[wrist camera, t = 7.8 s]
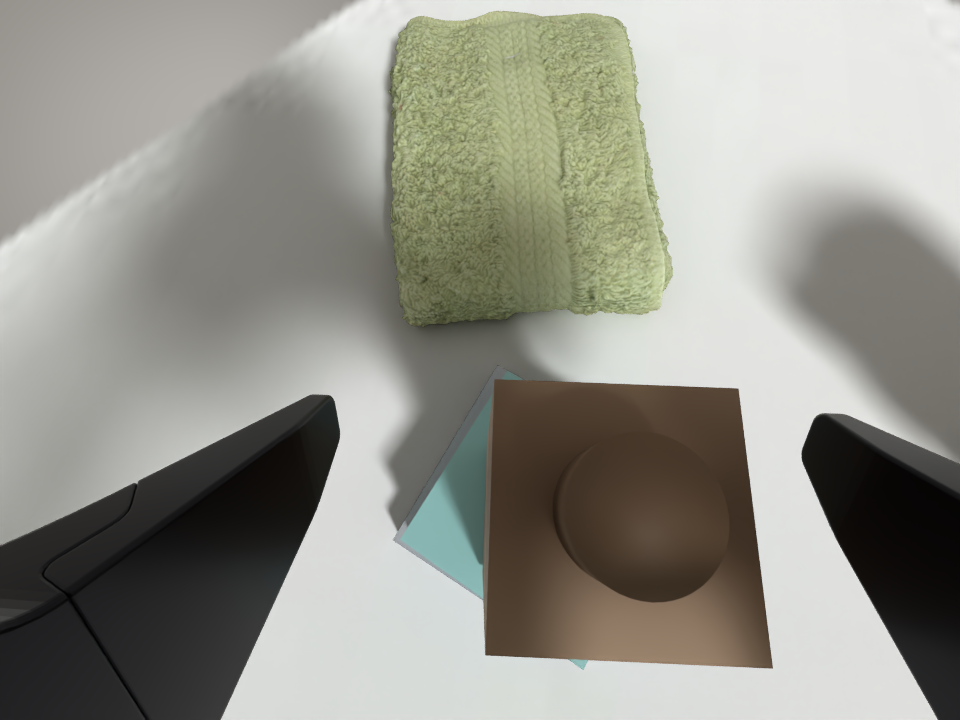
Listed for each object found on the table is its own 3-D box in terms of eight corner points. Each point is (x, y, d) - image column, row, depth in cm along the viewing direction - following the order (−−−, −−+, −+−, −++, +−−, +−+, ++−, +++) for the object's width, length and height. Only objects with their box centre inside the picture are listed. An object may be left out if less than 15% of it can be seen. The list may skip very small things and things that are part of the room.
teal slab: (574, 651, 16) (583, 669, 15) (411, 536, 18) (400, 539, 16) (664, 476, 18) (682, 472, 16) (507, 383, 20) (507, 370, 18)
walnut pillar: (612, 578, 15) (830, 700, 6) (482, 572, 15) (486, 685, 6) (607, 447, 17) (780, 369, 7) (487, 442, 17) (496, 358, 7)
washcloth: (620, 35, 27) (633, -26, 24) (672, 322, 22) (698, 291, 19) (393, 57, 28) (378, 1, 25) (390, 341, 22) (370, 314, 19)
